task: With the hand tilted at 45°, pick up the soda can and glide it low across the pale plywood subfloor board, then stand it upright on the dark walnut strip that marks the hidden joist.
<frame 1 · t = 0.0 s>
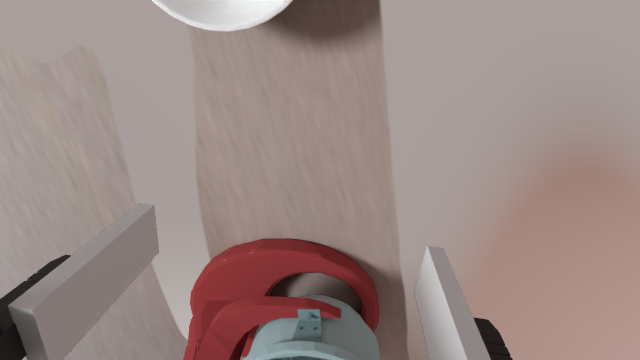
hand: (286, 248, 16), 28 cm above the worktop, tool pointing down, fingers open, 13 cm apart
stand mixer: (284, 298, 54), on the worktop
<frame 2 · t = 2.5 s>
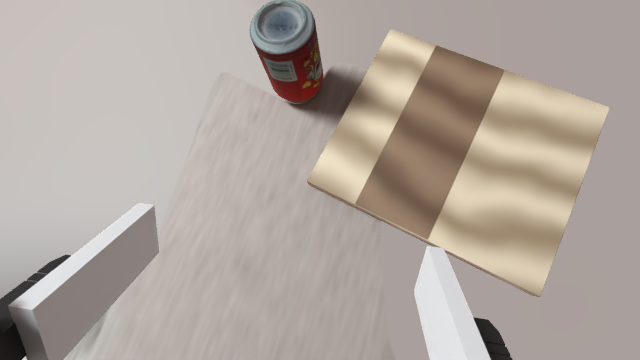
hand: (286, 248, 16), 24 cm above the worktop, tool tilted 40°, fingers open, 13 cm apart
soda can: (299, 85, 46), on the worktop
subfloor board: (452, 149, 41), on the worktop
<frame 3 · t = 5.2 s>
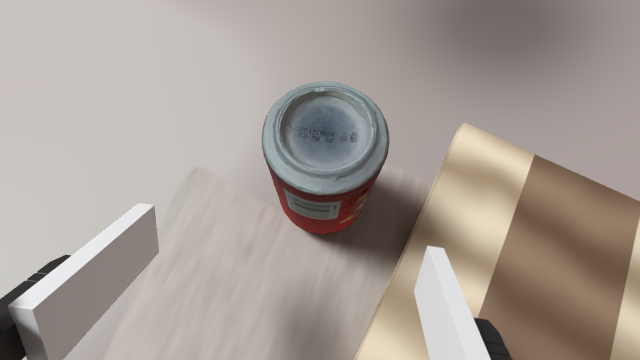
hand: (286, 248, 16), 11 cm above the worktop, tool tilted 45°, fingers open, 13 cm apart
soda can: (322, 198, 29), on the worktop
subfloor board: (575, 331, 25), on the worktop
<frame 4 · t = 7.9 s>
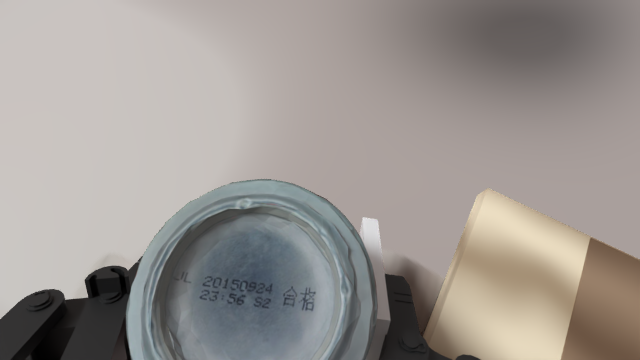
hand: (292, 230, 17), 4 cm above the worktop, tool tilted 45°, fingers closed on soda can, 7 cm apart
soda can: (286, 301, 20), on the worktop, touching gripper
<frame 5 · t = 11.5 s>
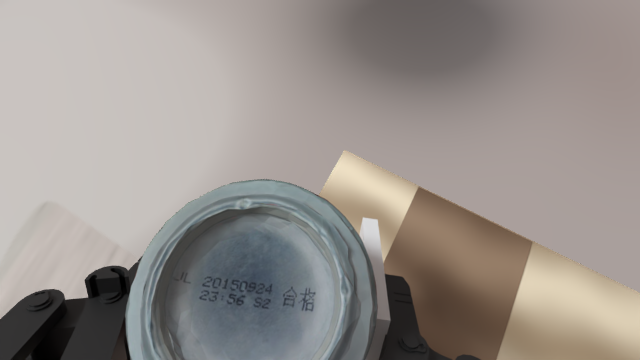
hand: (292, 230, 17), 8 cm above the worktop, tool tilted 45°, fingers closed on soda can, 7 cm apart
soda can: (286, 301, 20), point 4 cm above the worktop, touching gripper
when the fingers open (6 cm above the worktop, at t = 15.1 s): soda can stays where it is, resting on subfloor board.
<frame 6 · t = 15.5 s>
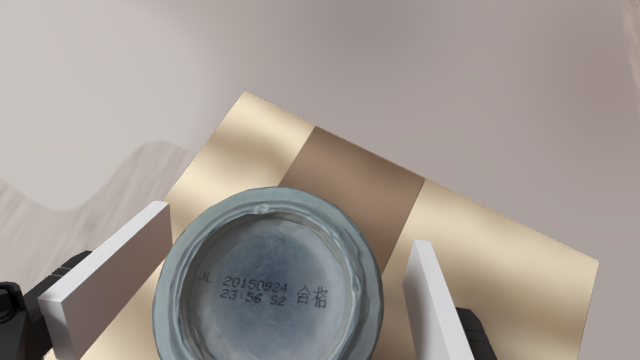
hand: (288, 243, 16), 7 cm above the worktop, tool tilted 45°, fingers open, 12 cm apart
soda can: (288, 302, 21), point 1 cm above the worktop, touching subfloor board
subfloor board: (328, 324, 22), on the worktop
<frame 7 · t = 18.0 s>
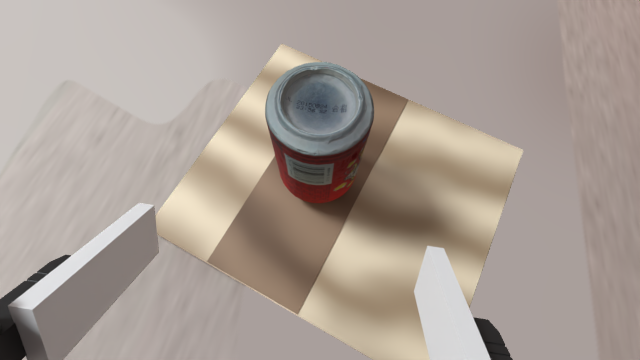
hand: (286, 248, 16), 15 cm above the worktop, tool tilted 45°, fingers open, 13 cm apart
soda can: (317, 174, 32), point 1 cm above the worktop, touching subfloor board
subfloor board: (343, 192, 33), on the worktop
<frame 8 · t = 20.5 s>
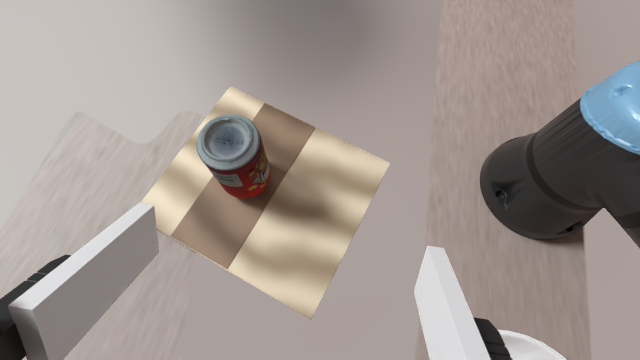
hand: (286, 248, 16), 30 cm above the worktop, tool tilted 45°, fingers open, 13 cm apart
soda can: (248, 179, 47), point 1 cm above the worktop, touching subfloor board
subfloor board: (266, 191, 48), on the worktop
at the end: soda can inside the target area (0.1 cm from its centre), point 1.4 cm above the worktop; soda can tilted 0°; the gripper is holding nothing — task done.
